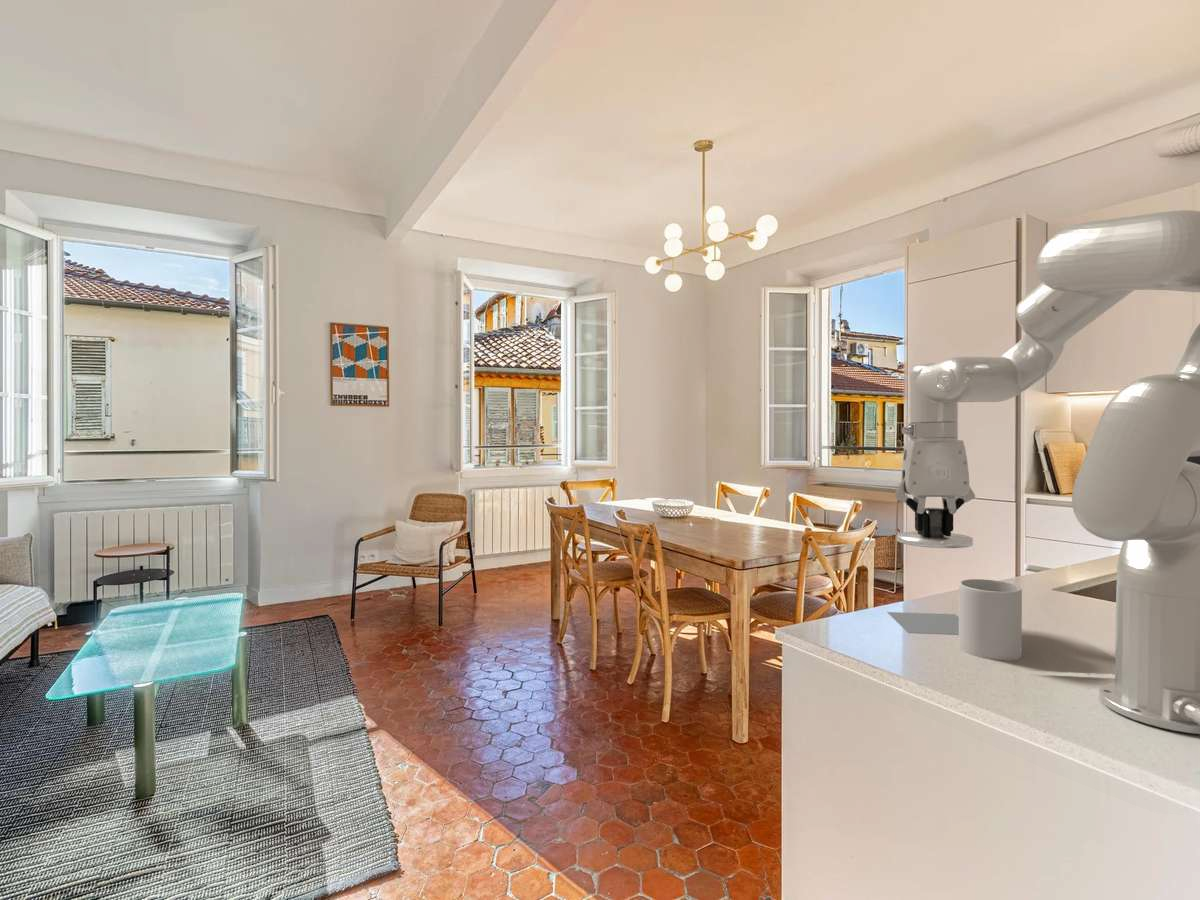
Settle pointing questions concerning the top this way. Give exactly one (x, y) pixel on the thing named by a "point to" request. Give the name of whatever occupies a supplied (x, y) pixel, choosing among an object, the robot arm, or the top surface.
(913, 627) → the mat
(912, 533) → the lid
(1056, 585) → the top surface
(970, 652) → the mug
